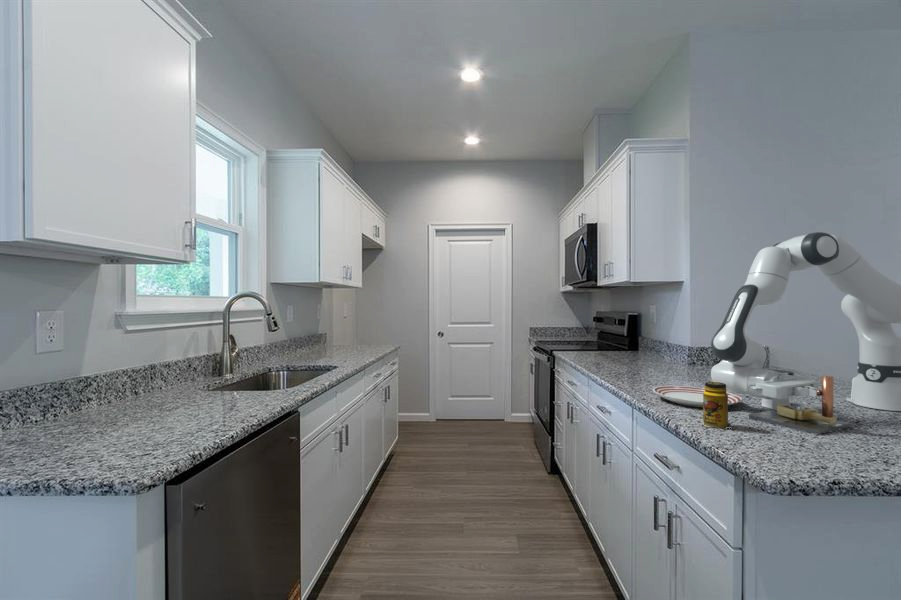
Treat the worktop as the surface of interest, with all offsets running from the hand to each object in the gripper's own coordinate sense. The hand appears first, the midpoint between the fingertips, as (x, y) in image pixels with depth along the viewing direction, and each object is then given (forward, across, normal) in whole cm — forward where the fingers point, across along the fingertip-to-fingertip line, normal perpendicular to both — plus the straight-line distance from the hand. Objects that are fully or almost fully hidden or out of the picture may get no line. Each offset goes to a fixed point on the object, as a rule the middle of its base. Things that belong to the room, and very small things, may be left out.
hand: (819, 393), depth 124 cm
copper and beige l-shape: (-4, +3, +8) cm, 10 cm away
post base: (-6, +2, +10) cm, 12 cm away
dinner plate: (-37, 0, +11) cm, 38 cm away
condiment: (-15, -22, +10) cm, 28 cm away
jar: (-19, +16, +10) cm, 27 cm away
